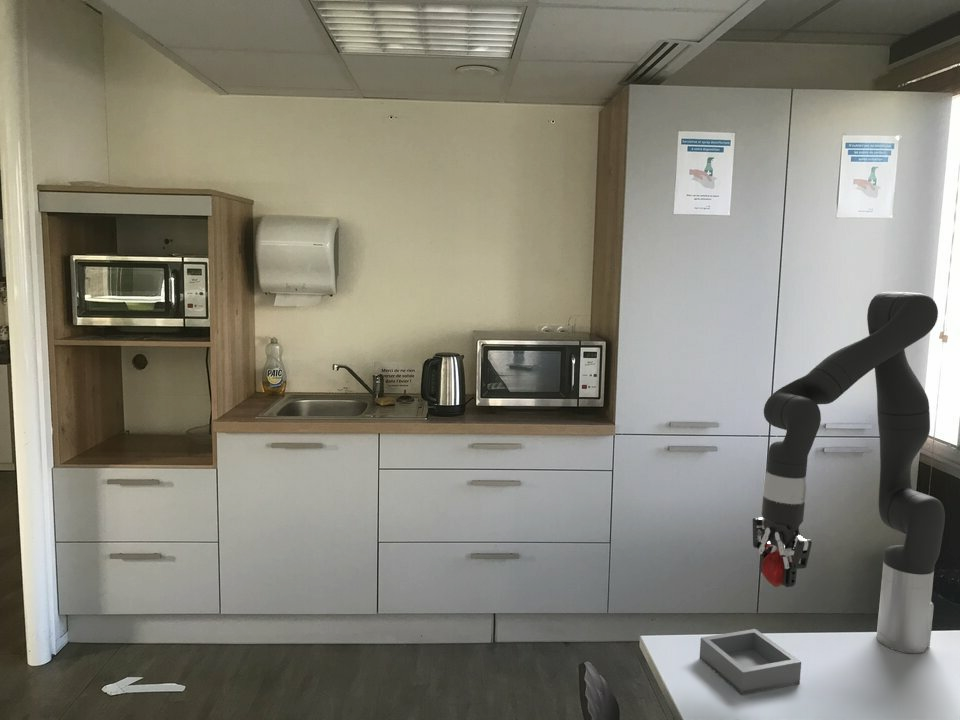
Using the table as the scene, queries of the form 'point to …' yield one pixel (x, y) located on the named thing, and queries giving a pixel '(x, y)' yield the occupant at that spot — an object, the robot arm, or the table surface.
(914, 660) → the table surface
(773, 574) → the pomegranate
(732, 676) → the box
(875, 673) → the table surface
